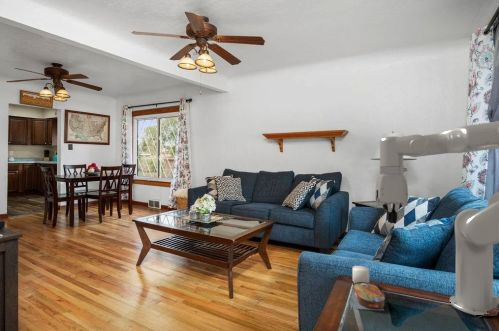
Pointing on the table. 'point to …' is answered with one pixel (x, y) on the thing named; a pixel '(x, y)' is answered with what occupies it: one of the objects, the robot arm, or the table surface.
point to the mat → (361, 305)
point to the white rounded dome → (360, 274)
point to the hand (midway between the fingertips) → (391, 222)
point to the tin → (368, 295)
